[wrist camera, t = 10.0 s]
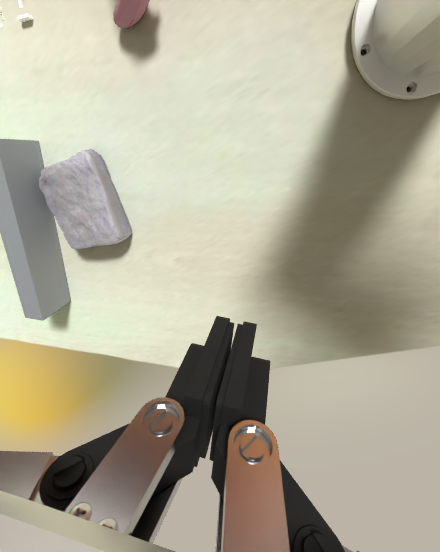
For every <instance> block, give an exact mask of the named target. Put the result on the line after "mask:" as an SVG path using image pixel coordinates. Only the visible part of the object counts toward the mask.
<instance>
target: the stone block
mask: <svg viewBox="0 0 440 552" xmlns="http://www.w3.org/2000/svg"><path fill="white" fill-rule="evenodd" d="M39 186H40V189H41V190H42V192H43V193H44V195H45V198H46V202H47V205H48V207H49V209H50V210H51V212H52V213H53V215H54V216H55V217H56V220H57V223H58V224H59V226H60V228H61V229H62V231H63V233H64V236H65V238H66V240H67V242H68V243H69V245H70V246H71V248H73V249H77V250H78V249H85V248H89V247H94V246H103V245H112V244H117V243H120V242H121V241H124V240H125V239H127V238H128V237H129V236H130V235H131V234H132V229H131V226H130V223H129V221H128V218H127V216H126V214H125V211H124V209H123V206H122V204H121V202H120V199H119V197H118V194H117V192H116V189H115V187H114V185H113V183H112V180H111V177H110V174H109V172H108V169H107V167H106V164H105V162H104V160H103V158H102V157H101V155H99V154H98V153H97V152H95V151H94V150H91V149H89V150H84V151H81V152H79V153H77V154H76V155H75V156H72V157H70V158H69V159H67V160H65V161H62V162H60V163H57V164H54V165H52V166H49V167H46V168H44V169H43V170H42V171H41V177H40V178H39Z"/></svg>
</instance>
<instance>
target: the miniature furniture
mask: <svg viewBox="0 0 440 552" xmlns="http://www.w3.org/2000/svg"><path fill="white" fill-rule="evenodd" d="M23 1H24V0H23ZM18 3H19V6H20V8H23V6H22V3H21V0H18ZM0 8H1V7H0ZM1 12H2V10H1ZM1 12H0V13H1ZM0 15H1V14H0ZM2 15H3V14H2ZM3 17H4V16H3ZM17 18H18V20H20V21H22V22H26V21H29V20H33V16H31V15H30V14H28V13H27V14H23V15H20V16H17ZM2 21H4V20H2ZM2 27H3V26H2V23H0V28H2Z"/></svg>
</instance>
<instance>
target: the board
mask: <svg viewBox="0 0 440 552" xmlns="http://www.w3.org/2000/svg"><path fill="white" fill-rule="evenodd" d="M43 169H44V165H43V160H42V156H41V151H40V146H39V141H30V140H14V139H0V233H1V236H2V240H3V243H4V247H5V250H6V253H7V257H8V260H9V264H10V267H11V270H12V274H13V277H14V281H15V284H16V287H17V291H18V294H19V298H20V301H21V304H22V308H23V311H24V315H25V317H26V318H31V319H37V320H42V321H43V320H45V319H46V318H47V317H49V316H50V315H52V314H53V313H55V312H56V311H57V310H59V309H60V308H62V307H63V306H64V305H66V304H67V303H69V302H70V301H71V299H70V294H69V289H68V284H67V279H66V274H65V269H64V264H63V259H62V254H61V249H60V244H59V239H58V234H57V229H56V225H55V220H54V215H53V213H52V212H51V210H50V209H49V207H48V205H47V202H46V198H45V195H44V193H43V192H42V190H41V189H40V186H39V178H40V177H41V171H42V170H43Z"/></svg>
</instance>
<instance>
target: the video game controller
mask: <svg viewBox="0 0 440 552" xmlns="http://www.w3.org/2000/svg"><path fill="white" fill-rule="evenodd" d="M148 2H149V0H118V2H117V5H116V7H115V10H114V21H115V24H116V25H117V26H118V27H121V28H129V27H131V26H133V25H134V24H135V23H137V22H138V21H139V20H140V19H141V17H142V15H143V14H144V12H145V10H146V7H147V5H148Z"/></svg>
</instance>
